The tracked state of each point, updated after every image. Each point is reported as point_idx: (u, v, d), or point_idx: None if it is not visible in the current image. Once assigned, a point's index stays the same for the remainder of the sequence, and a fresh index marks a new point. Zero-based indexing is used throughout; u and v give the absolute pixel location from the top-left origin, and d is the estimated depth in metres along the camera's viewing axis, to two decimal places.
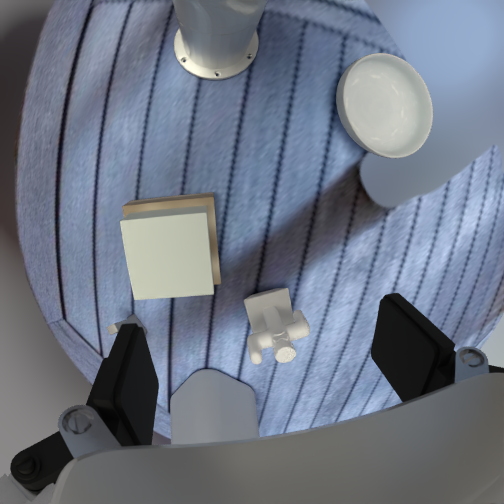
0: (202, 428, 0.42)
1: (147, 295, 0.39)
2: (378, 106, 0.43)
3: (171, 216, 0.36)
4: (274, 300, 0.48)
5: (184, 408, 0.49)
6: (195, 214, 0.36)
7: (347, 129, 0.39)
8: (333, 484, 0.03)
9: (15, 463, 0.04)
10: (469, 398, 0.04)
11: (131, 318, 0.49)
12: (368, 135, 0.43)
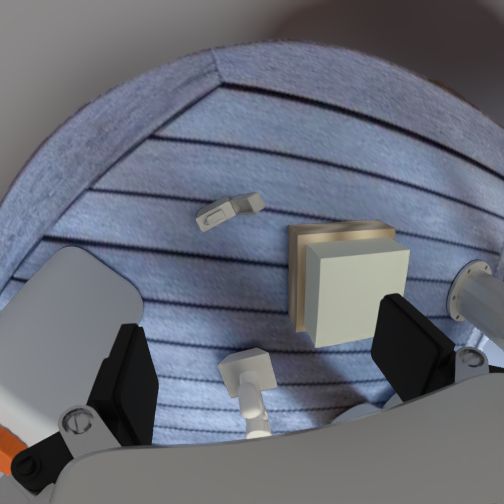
0: None
1: (324, 276, 0.30)
2: None
3: None
4: (264, 378, 0.41)
5: (94, 297, 0.30)
6: None
7: None
8: (333, 484, 0.03)
9: (15, 463, 0.04)
10: (469, 398, 0.04)
11: None
12: None
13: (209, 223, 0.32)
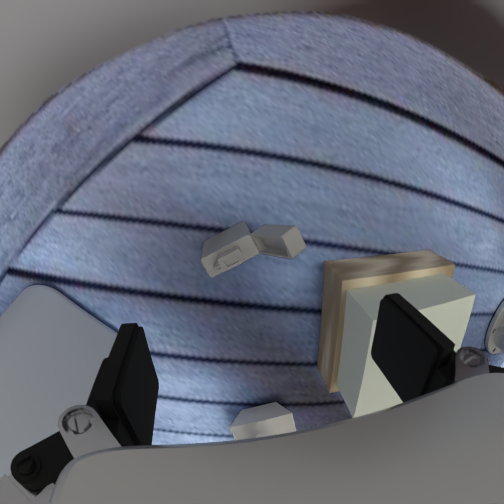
0: None
1: None
2: None
3: None
4: None
5: (67, 362, 0.20)
6: None
7: None
8: (333, 484, 0.03)
9: (15, 463, 0.04)
10: (469, 399, 0.04)
11: None
12: None
13: (221, 266, 0.22)
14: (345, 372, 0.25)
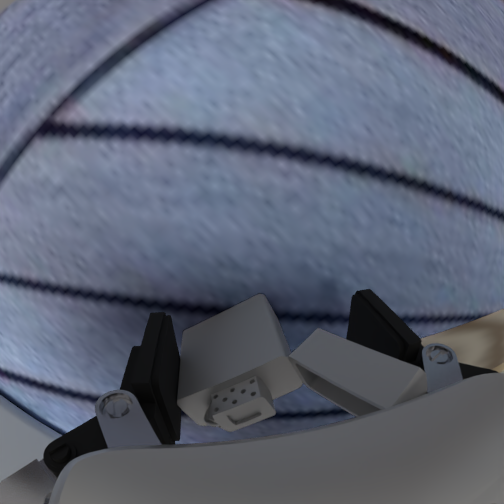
0: None
1: None
2: None
3: None
4: None
5: None
6: None
7: None
8: (333, 484, 0.03)
9: (49, 452, 0.05)
10: (469, 398, 0.04)
11: (283, 334, 0.12)
12: None
13: (221, 424, 0.09)
14: None
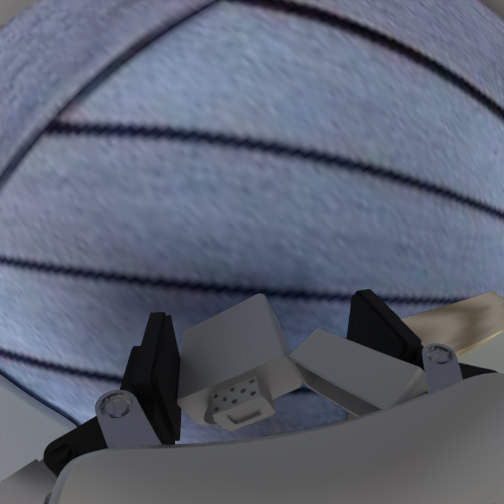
0: None
1: None
2: None
3: None
4: None
5: None
6: None
7: None
8: (333, 484, 0.03)
9: (49, 452, 0.05)
10: (469, 398, 0.04)
11: (283, 333, 0.12)
12: None
13: (221, 424, 0.09)
14: None
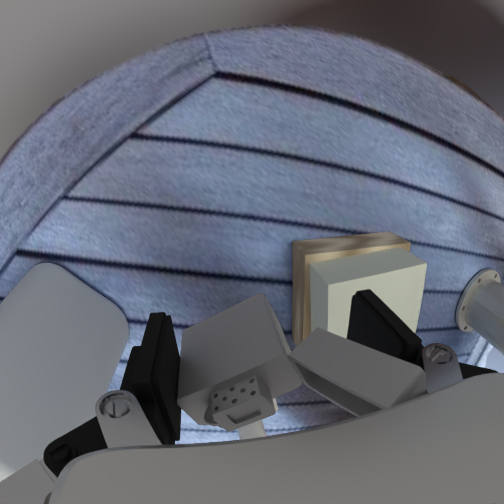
0: (87, 404, 0.20)
1: (333, 303, 0.26)
2: None
3: (417, 319, 0.29)
4: None
5: (71, 324, 0.24)
6: None
7: None
8: (333, 484, 0.03)
9: (49, 452, 0.05)
10: (469, 398, 0.04)
11: (283, 333, 0.12)
12: None
13: (221, 423, 0.09)
14: None
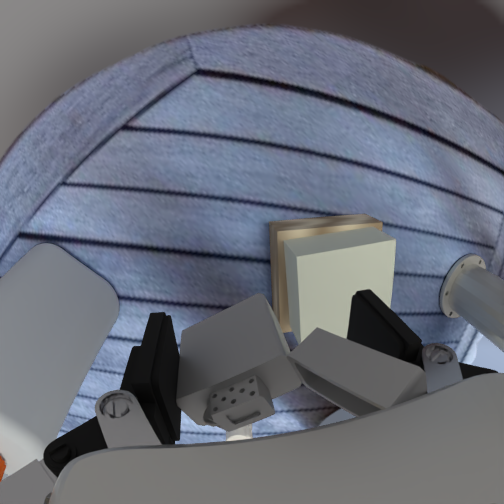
0: (74, 363, 0.22)
1: (303, 275, 0.29)
2: None
3: (390, 295, 0.31)
4: None
5: (65, 295, 0.27)
6: None
7: None
8: (333, 484, 0.03)
9: (50, 452, 0.05)
10: (469, 399, 0.04)
11: (282, 333, 0.12)
12: None
13: (220, 424, 0.09)
14: (291, 310, 0.34)
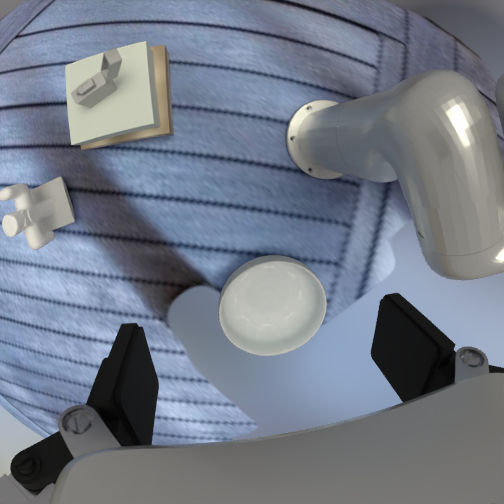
0: None
1: (69, 77, 0.28)
2: (269, 299, 0.51)
3: (149, 89, 0.30)
4: (61, 209, 0.38)
5: None
6: (151, 112, 0.31)
7: (240, 268, 0.44)
8: (333, 484, 0.03)
9: (15, 463, 0.04)
10: (469, 398, 0.04)
11: (112, 85, 0.28)
12: (237, 291, 0.49)
13: (79, 91, 0.24)
14: None
